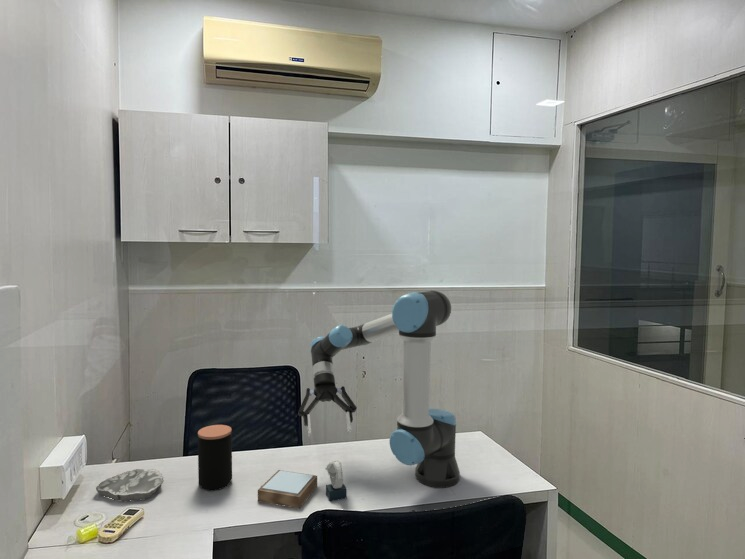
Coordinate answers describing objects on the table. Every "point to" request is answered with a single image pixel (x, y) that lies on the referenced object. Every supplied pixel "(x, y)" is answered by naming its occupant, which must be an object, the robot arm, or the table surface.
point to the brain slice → (131, 485)
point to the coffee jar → (214, 457)
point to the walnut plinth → (287, 488)
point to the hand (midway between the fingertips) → (329, 433)
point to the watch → (335, 482)
